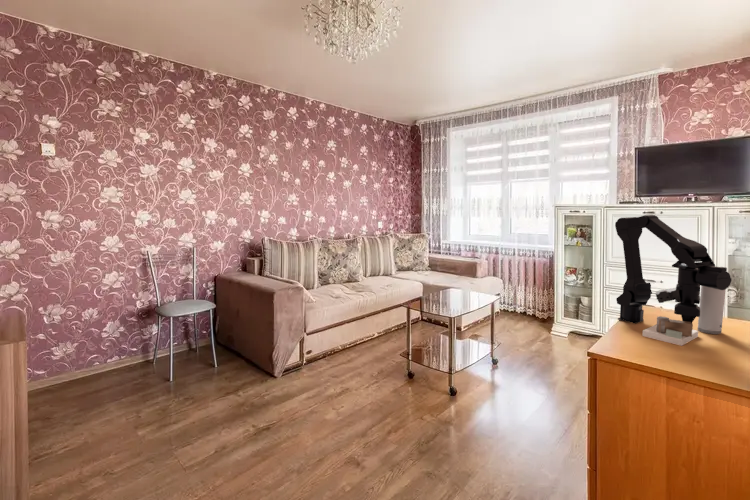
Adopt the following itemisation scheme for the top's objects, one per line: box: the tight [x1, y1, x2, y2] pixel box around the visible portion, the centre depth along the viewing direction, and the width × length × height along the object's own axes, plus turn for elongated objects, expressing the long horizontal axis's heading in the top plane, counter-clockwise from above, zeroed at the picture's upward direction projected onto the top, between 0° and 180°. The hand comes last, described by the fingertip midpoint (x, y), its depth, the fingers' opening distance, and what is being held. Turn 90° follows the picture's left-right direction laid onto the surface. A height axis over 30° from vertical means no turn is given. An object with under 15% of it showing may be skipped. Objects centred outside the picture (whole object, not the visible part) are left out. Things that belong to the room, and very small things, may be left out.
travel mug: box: [697, 285, 727, 335], centre depth 131 cm, size 6×7×20 cm
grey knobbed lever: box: [656, 315, 693, 337], centre depth 126 cm, size 9×3×5 cm, turn 55°
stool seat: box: [641, 323, 699, 346], centre depth 129 cm, size 11×14×4 cm
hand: (686, 328), depth 126 cm, fingers closed
